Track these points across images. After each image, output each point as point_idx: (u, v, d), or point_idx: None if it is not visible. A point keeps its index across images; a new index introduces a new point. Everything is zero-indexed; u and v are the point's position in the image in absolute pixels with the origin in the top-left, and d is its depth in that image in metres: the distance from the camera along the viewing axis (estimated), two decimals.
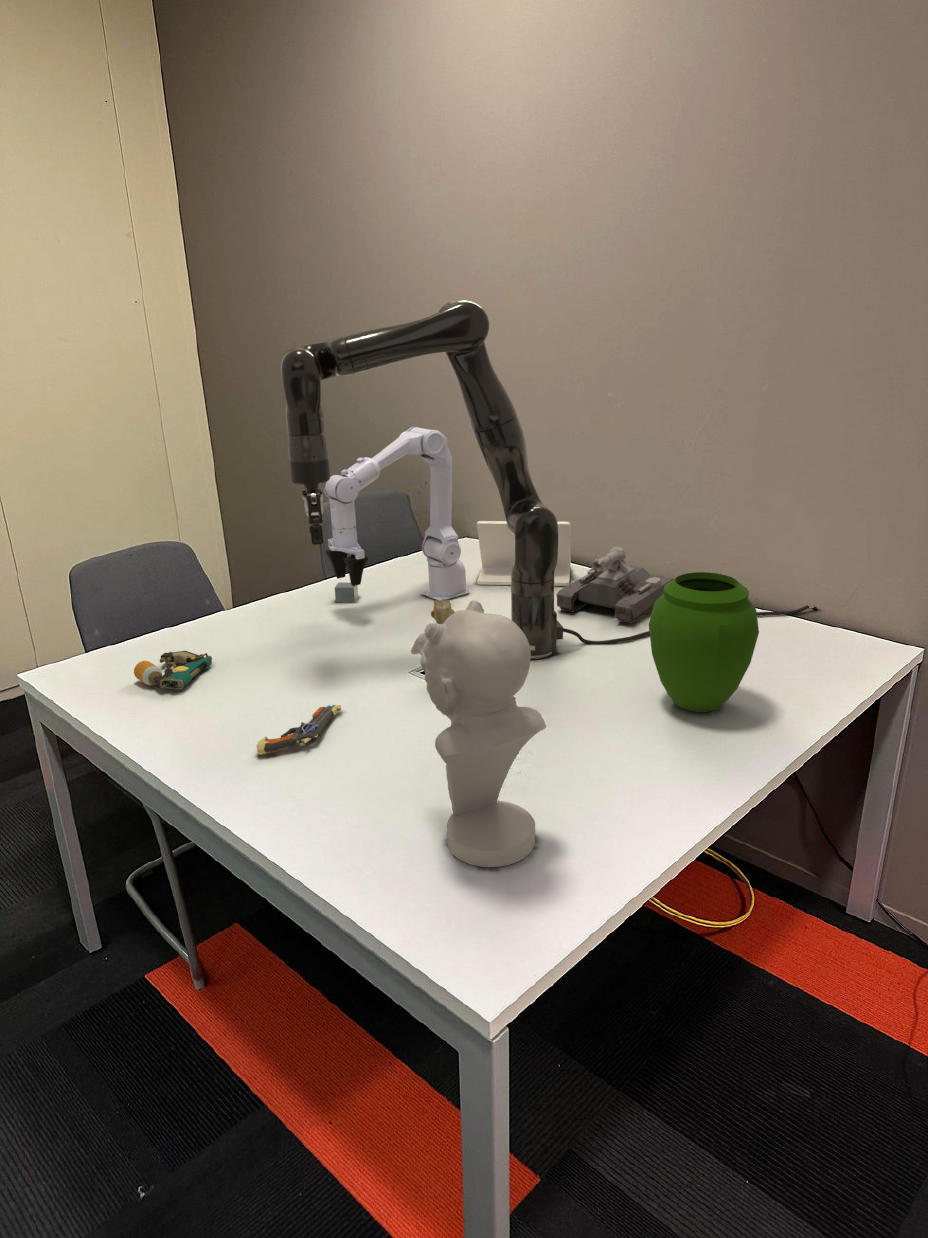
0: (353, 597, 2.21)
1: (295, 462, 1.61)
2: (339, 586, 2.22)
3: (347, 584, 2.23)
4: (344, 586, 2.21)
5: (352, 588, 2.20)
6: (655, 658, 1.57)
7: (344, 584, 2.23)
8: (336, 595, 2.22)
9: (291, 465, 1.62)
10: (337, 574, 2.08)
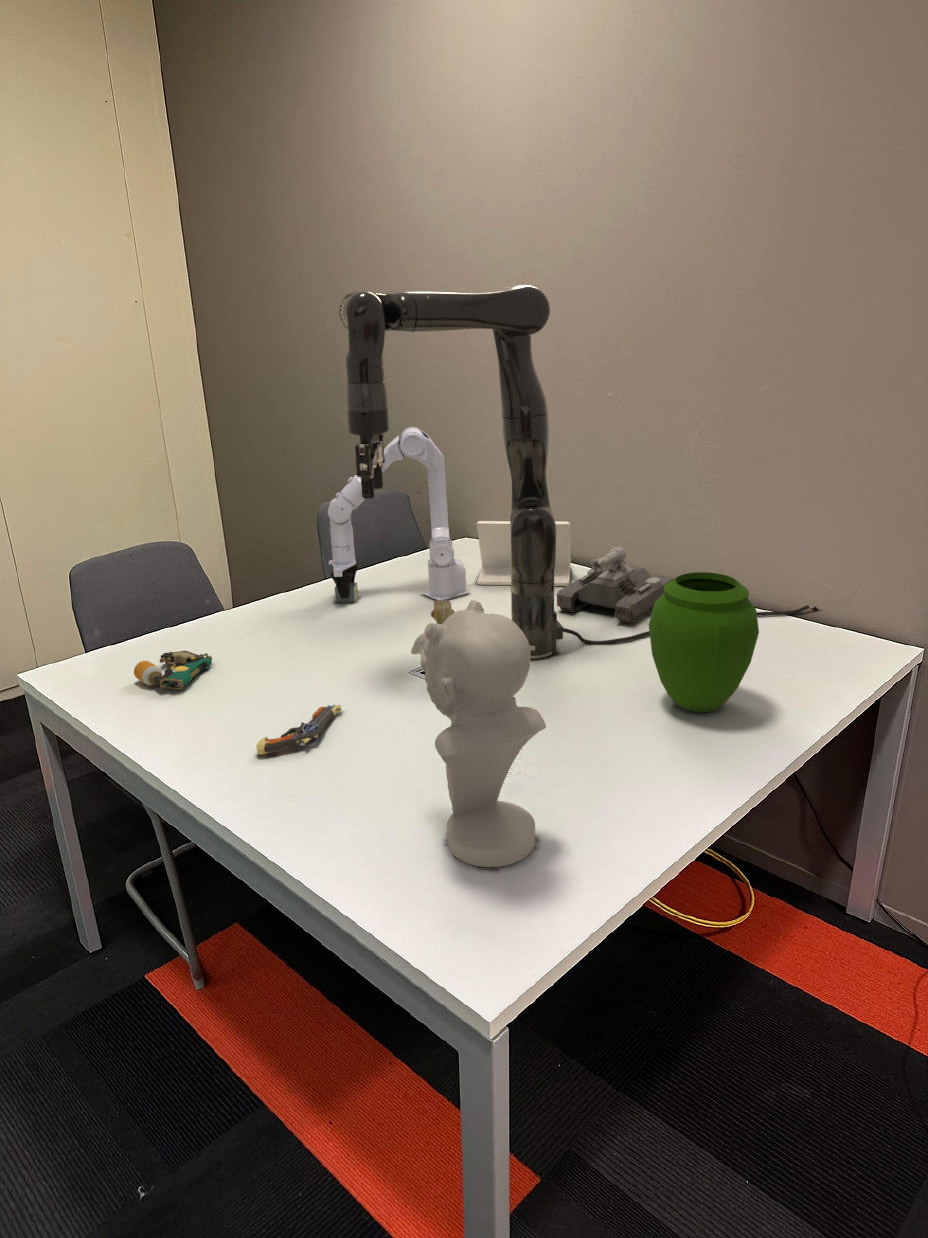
0: (353, 597, 2.21)
1: None
2: None
3: None
4: None
5: (352, 588, 2.20)
6: (655, 658, 1.57)
7: None
8: (336, 595, 2.22)
9: None
10: None
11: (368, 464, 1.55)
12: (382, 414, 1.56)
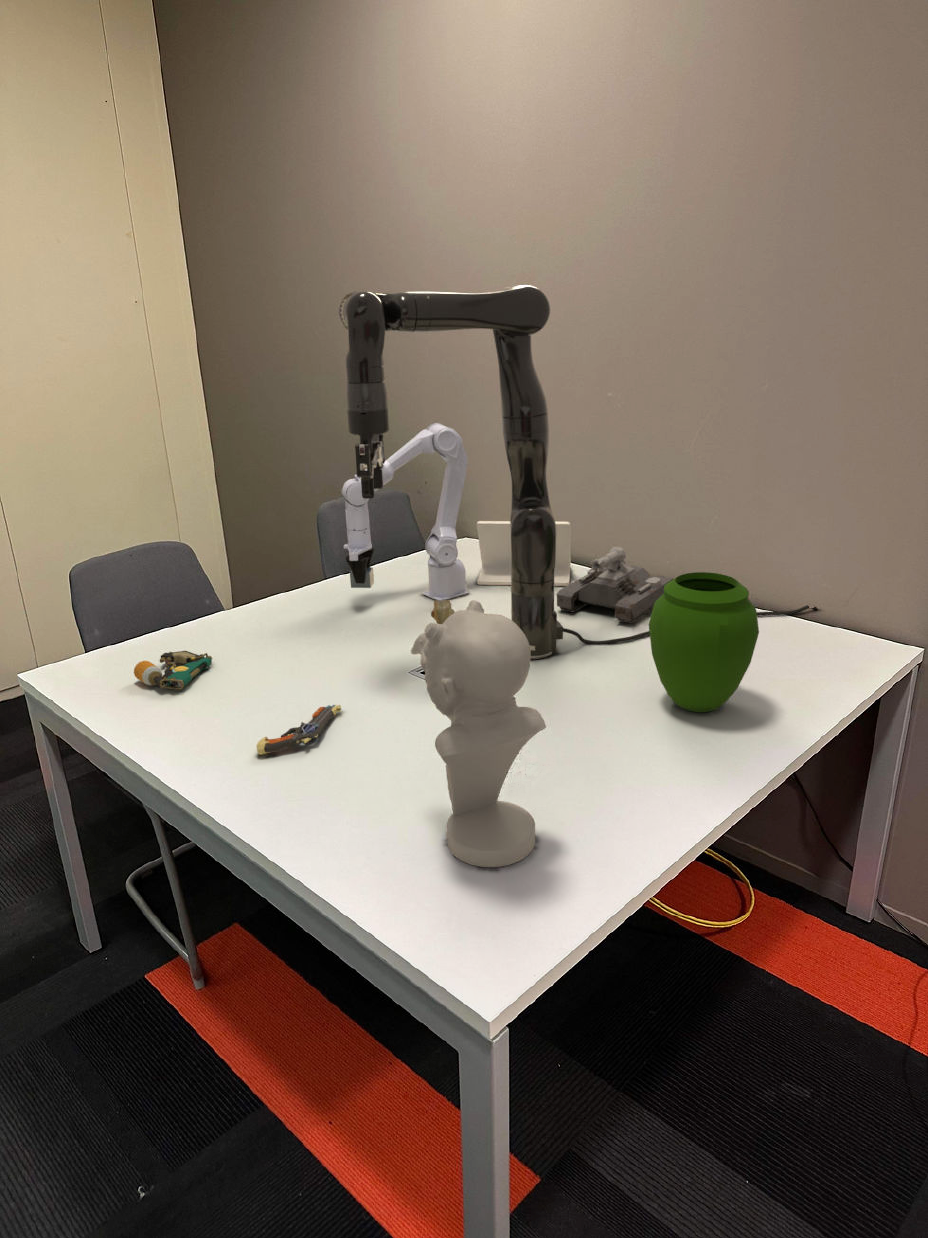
0: (369, 582, 2.15)
1: None
2: None
3: None
4: None
5: (368, 573, 2.14)
6: (655, 658, 1.57)
7: None
8: (351, 580, 2.15)
9: None
10: None
11: (368, 464, 1.55)
12: (382, 414, 1.56)
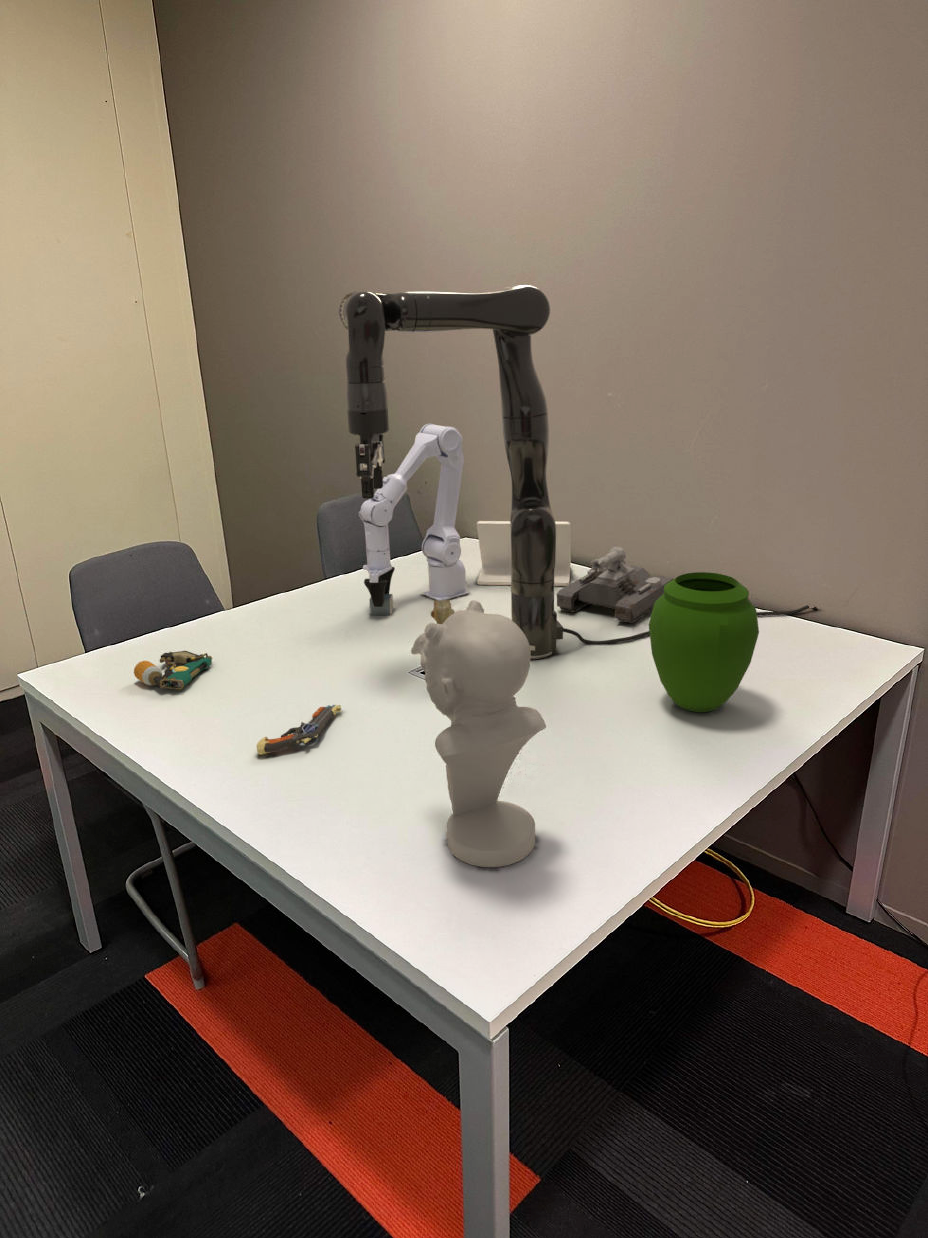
0: (389, 609, 2.12)
1: None
2: None
3: None
4: None
5: (388, 600, 2.11)
6: (655, 658, 1.57)
7: None
8: (371, 607, 2.12)
9: None
10: None
11: (368, 464, 1.55)
12: (382, 414, 1.56)
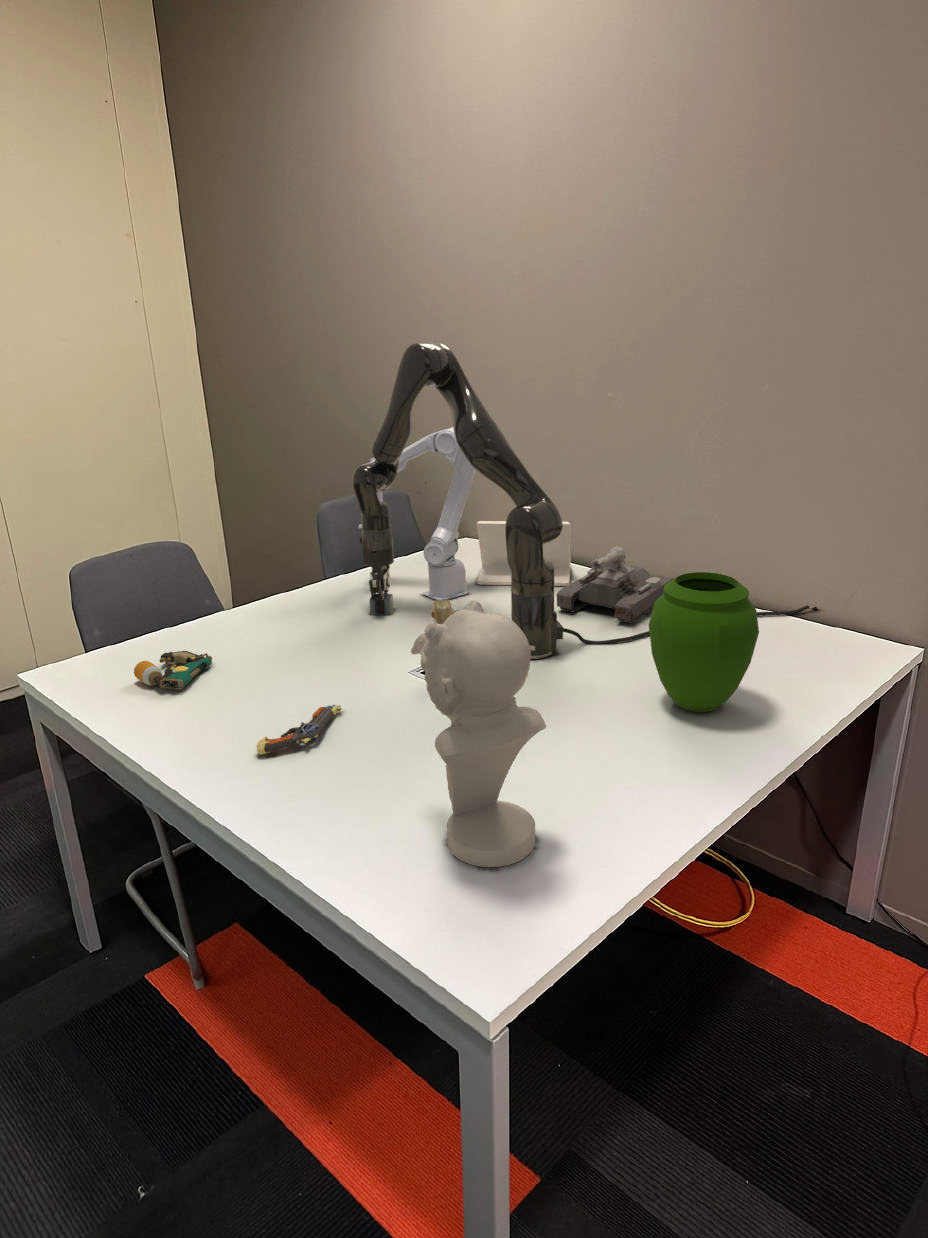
0: (389, 609, 2.12)
1: None
2: None
3: None
4: None
5: (388, 600, 2.11)
6: (655, 658, 1.57)
7: None
8: (371, 607, 2.12)
9: None
10: None
11: (380, 593, 2.07)
12: (389, 551, 2.07)
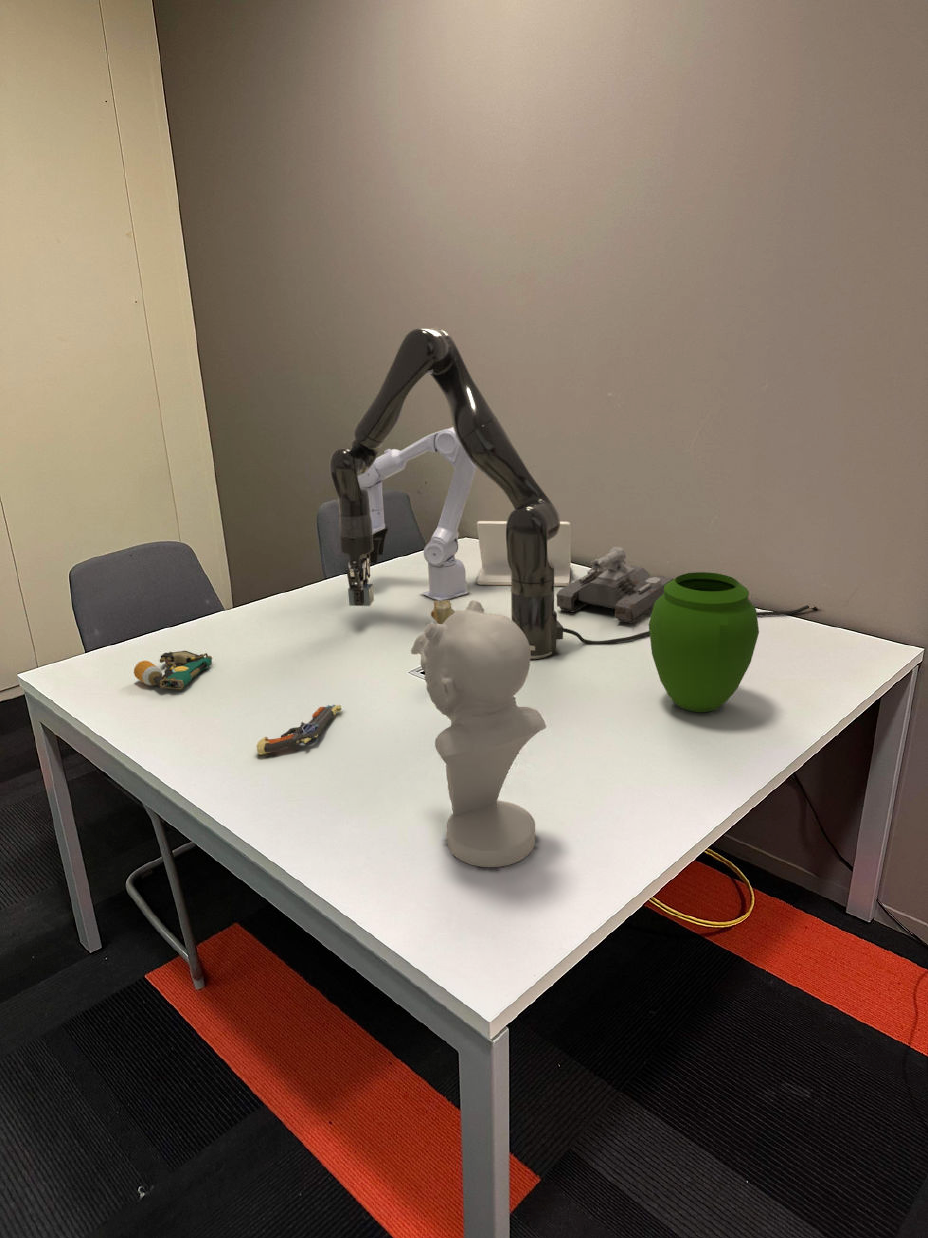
0: (368, 600, 2.02)
1: None
2: None
3: None
4: None
5: (367, 590, 2.01)
6: (655, 658, 1.57)
7: None
8: (350, 598, 2.03)
9: None
10: None
11: (358, 583, 1.97)
12: (367, 539, 1.97)
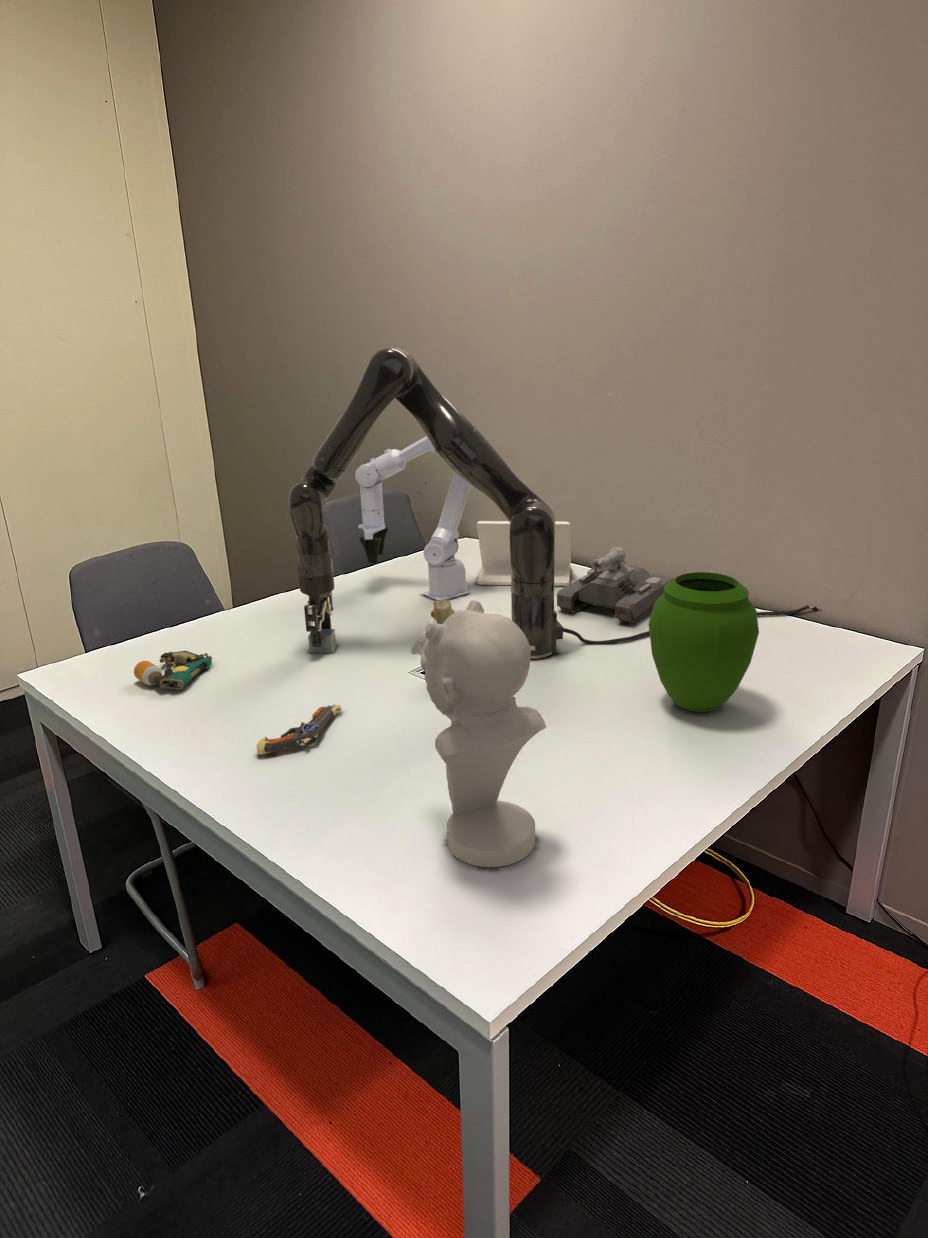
0: (330, 647, 1.90)
1: None
2: None
3: (323, 631, 1.92)
4: None
5: (329, 636, 1.89)
6: (655, 658, 1.57)
7: None
8: (310, 644, 1.90)
9: None
10: None
11: (315, 622, 1.83)
12: (327, 578, 1.84)
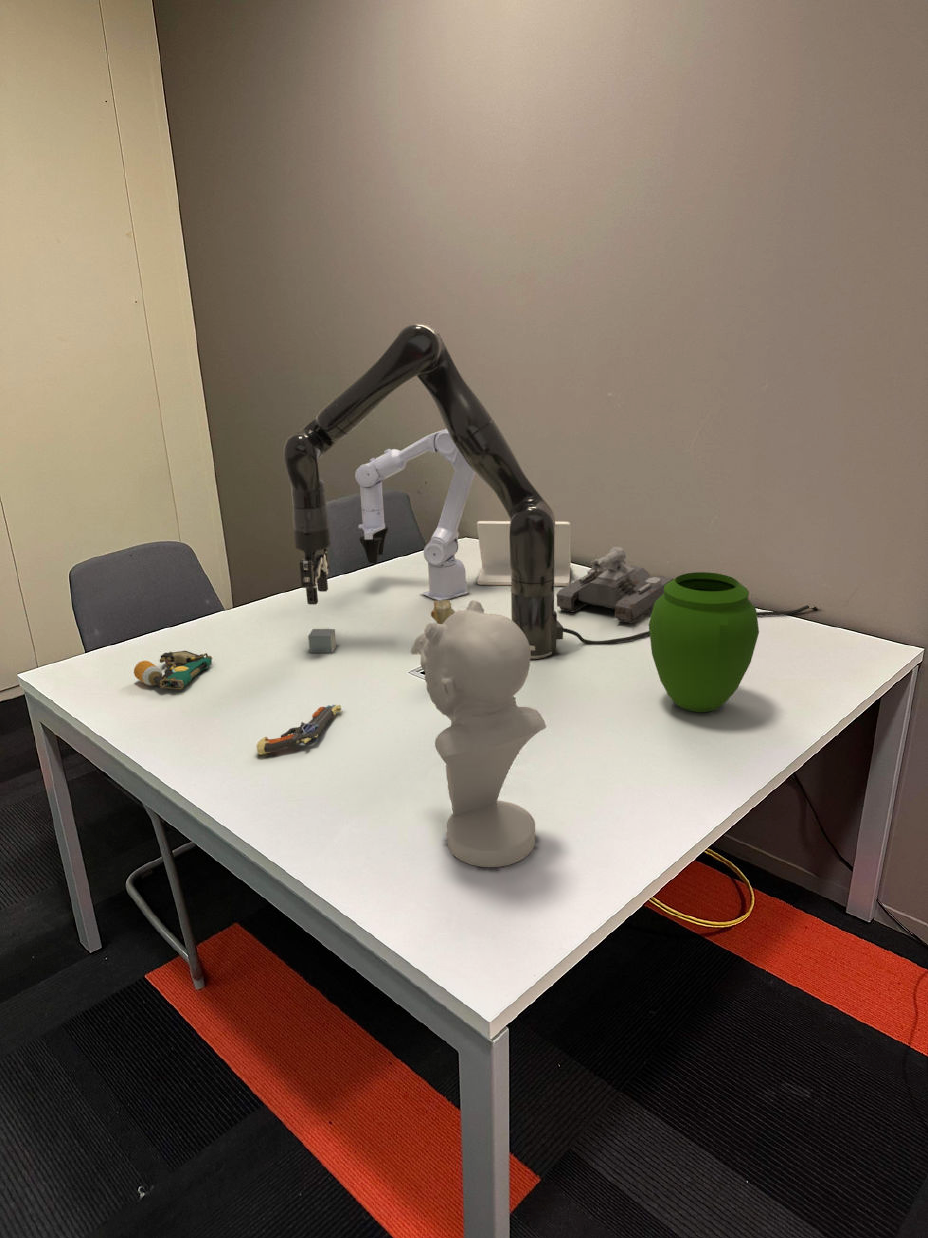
0: (330, 647, 1.90)
1: None
2: (313, 634, 1.90)
3: (323, 631, 1.92)
4: (319, 634, 1.90)
5: (329, 636, 1.89)
6: (655, 658, 1.57)
7: (319, 631, 1.92)
8: (310, 644, 1.90)
9: None
10: None
11: (311, 577, 1.79)
12: (323, 533, 1.81)
